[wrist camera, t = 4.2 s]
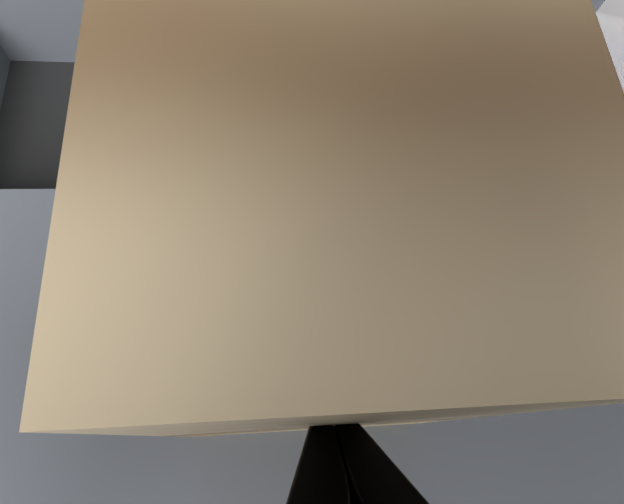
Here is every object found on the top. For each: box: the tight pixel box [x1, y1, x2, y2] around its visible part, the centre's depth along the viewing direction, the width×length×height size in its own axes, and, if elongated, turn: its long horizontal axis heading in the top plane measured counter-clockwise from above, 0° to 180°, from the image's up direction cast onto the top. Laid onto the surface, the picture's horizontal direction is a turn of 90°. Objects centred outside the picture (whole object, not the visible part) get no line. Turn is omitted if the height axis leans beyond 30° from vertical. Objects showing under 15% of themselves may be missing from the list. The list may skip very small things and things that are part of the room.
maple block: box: [19, 0, 624, 437], centre depth 9 cm, size 6×6×9 cm
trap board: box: [0, 0, 624, 504], centre depth 14 cm, size 23×23×4 cm
